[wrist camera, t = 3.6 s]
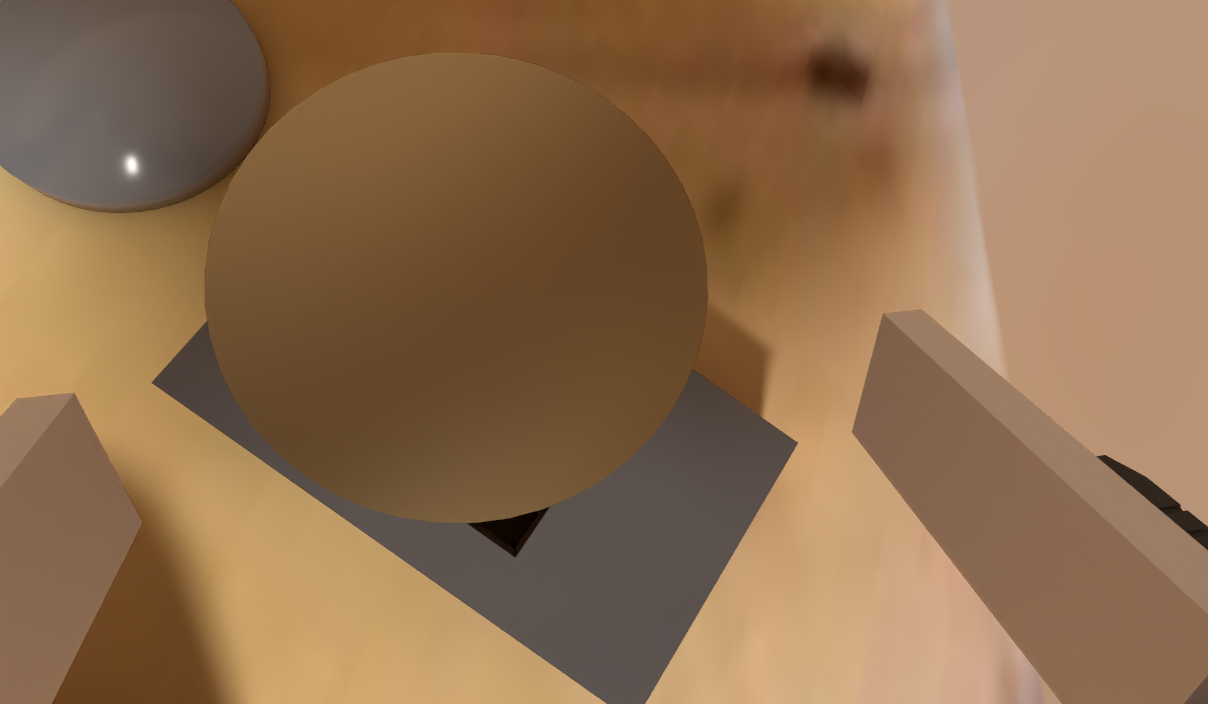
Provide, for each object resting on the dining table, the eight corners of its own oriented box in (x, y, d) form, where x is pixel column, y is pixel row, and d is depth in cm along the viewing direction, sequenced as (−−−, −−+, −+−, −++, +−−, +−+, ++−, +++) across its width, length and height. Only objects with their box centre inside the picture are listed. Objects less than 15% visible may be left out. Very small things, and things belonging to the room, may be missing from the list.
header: (205, 400, 19) (151, 382, 16) (387, 191, 21) (368, 142, 18) (614, 688, 19) (634, 722, 16) (757, 450, 21) (797, 443, 18)
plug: (381, 446, 19) (85, 320, 6) (478, 321, 21) (422, -29, 7) (512, 539, 19) (526, 631, 6) (602, 408, 21) (790, 228, 7)
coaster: (-83, 107, 20) (-107, 91, 19) (120, -69, 22) (106, -90, 21) (141, 265, 20) (127, 255, 19) (324, 74, 22) (318, 58, 21)
